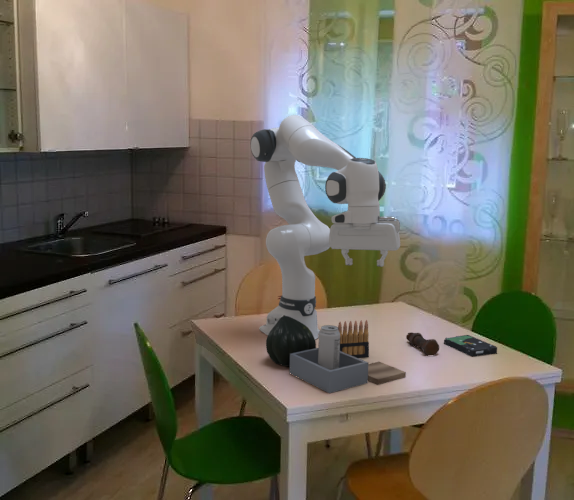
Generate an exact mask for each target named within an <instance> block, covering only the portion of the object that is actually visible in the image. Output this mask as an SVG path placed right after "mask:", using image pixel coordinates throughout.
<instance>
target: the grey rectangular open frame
mask: <svg viewBox="0 0 574 500" xmlns="http://www.w3.org/2000/svg"><path fill="white" fill-rule="evenodd" d="M368 364H369V362H368V361H366V360H364V359H362V358H356V357H354V356H351V355H349V354H346V353H344V352H341V351H340V352H339V368H337V369H333V370H329V369H327V368H324V367H322V366H320V365H318V347H316V348H315V349H310V350H306V351H301V352H296V353H292V354H290V365H289V374H290V373H291V374H293V375H294V376H293V375H292V376H293V377H295V376H297V377H299V378H300V380H301V379H303V380H304V382H305V381H306V383H307V382H308V383H307V384H309V383H310V384H309V385H311V384H312V386H313V385H314V387H315V386H316V388H317V387H318V388H317V389H320V390H322V391H323V392H325V393H328V394H331V393H335V392H339V391H342V390H347V389H350V388H353V387H358V386H362V385H365V384H368V383H369V382H368ZM291 374H290V375H291ZM297 377H296V378H297ZM299 378H298V379H299ZM303 380H302V381H303Z"/></svg>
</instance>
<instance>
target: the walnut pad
mask: <svg viewBox="0 0 574 500" xmlns="http://www.w3.org/2000/svg"><path fill="white" fill-rule="evenodd" d="M406 375H407V372H406V371H404V370H401V369H399V368H397V367H394V366H392V365H389V364H386V363H384V362H382V361H376V362H372V363H368V381H369V382H370V383H373V384H376V385H377V386H378V385H381V384H384V383H389V382H393V381H396V380H400V379H403V378H404V379H405V378H406Z"/></svg>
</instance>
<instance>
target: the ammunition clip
mask: <svg viewBox="0 0 574 500" xmlns="http://www.w3.org/2000/svg"><path fill="white" fill-rule="evenodd" d="M353 323H354V324H353ZM337 327H338V330H339V332H340V351H341V352H344V353H346V354H349V355H351V356H354V357H356V358H359V359H367V358H370V341H369V336H370V335H369V323H368V320H367V319H366V320H365V322H364V324H363V321H362V320H360V322H359V326H358V321H357V320H355V321H354V322H352V320H350V321H349V323H348V324H347V321H346V320H345V321H344V323H343V326H342V322H341V321H339V322H338V325H337Z"/></svg>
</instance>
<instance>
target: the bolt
mask: <svg viewBox="0 0 574 500" xmlns="http://www.w3.org/2000/svg"><path fill="white" fill-rule="evenodd" d="M405 337H406V340H407V341H408V342H409V343H410V345H411V347H413V346H415V347H414V348H416V347H417V346H418V347H419V348H421V350H422V352H423V353H424V355H425V356H427V357H428V355H433V356H436V355H437V353H439V350H440V345H439V343H438V341H437V340H436V339H435V338H431V339H426V338H424V337H423V335H422V334H421V333H420V332H408V333H407V334H406V336H405Z"/></svg>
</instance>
